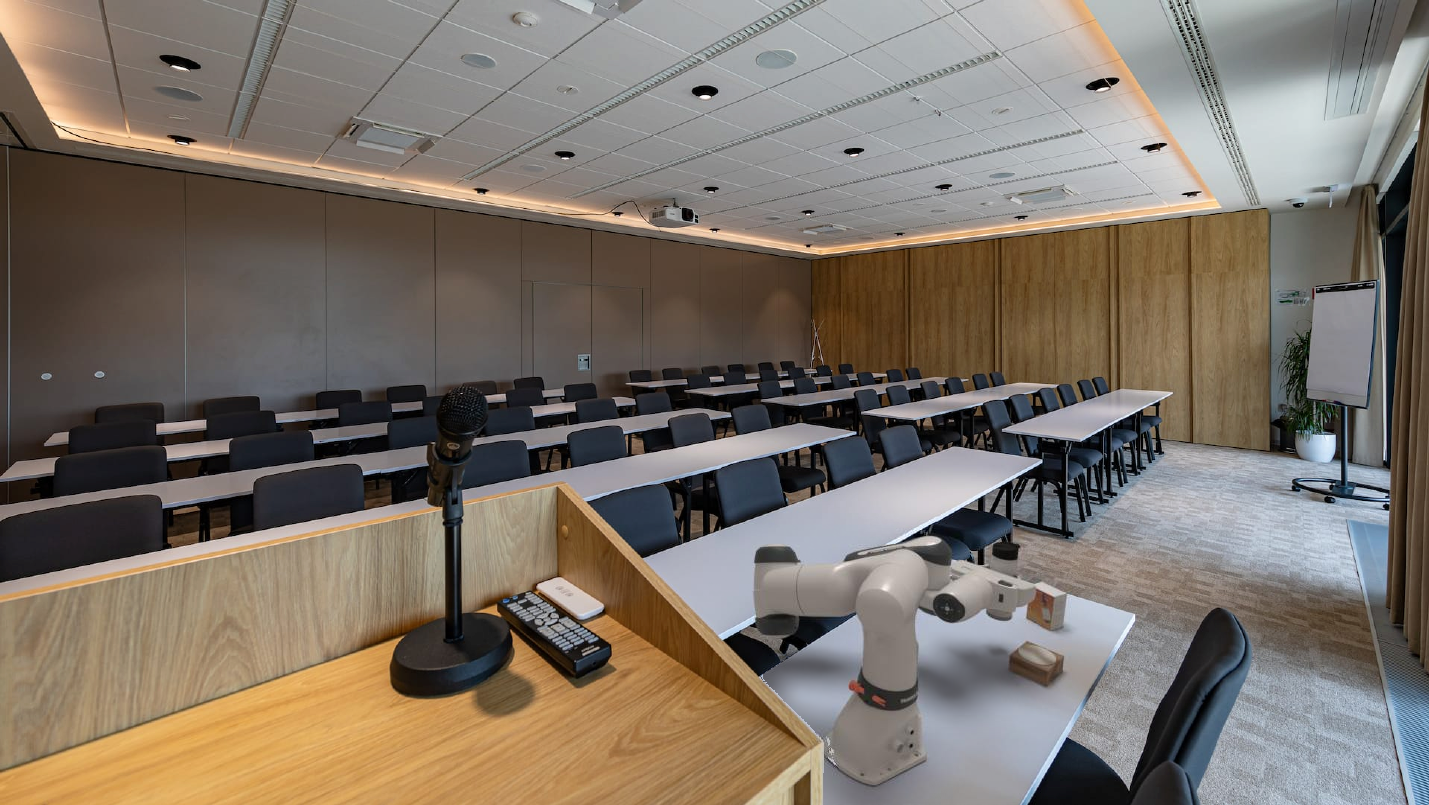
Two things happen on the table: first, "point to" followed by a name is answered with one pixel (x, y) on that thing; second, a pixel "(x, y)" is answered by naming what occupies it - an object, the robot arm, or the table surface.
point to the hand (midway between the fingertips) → (1004, 572)
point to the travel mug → (1003, 570)
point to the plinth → (1036, 663)
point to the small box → (1047, 607)
